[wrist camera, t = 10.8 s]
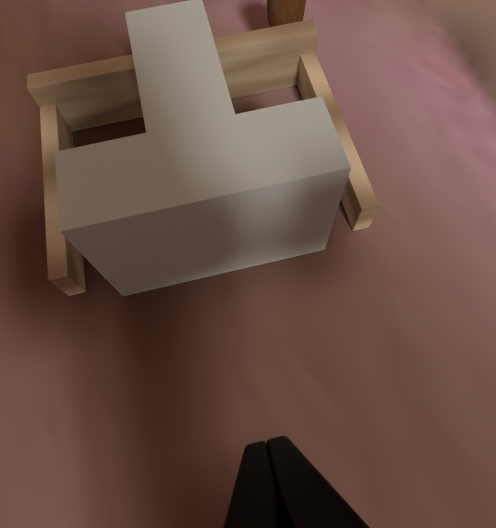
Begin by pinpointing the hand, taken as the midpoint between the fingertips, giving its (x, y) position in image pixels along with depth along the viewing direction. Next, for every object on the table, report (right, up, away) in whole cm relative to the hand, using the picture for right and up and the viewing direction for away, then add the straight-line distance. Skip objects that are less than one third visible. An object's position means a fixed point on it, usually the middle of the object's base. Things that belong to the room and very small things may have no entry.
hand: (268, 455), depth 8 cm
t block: (-3, +9, +18) cm, 20 cm away
